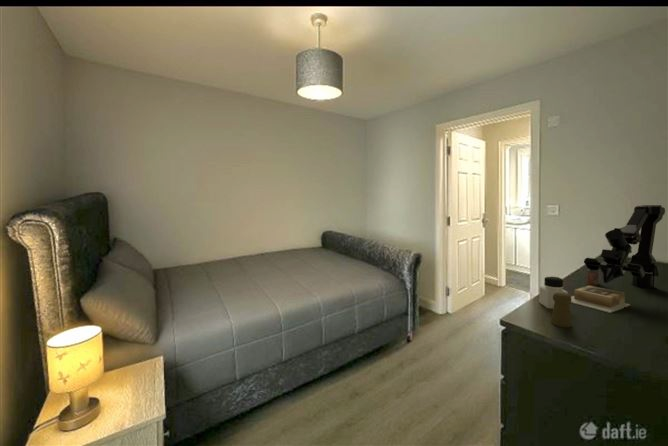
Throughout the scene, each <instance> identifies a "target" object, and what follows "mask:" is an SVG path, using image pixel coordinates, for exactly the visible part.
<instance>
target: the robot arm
mask: <svg viewBox="0 0 668 446" xmlns="http://www.w3.org/2000/svg"><path fill="white" fill-rule="evenodd" d="M665 213H666V208H665V207H664V206H662V205H661V204H657V205H655V204H642V205H637V206H635V207H634V209H633V213H632V215H631V216H630V218H629V220H628V221H627V223H626V224H625V225H624V226H623V227H620V228H616V227H614V229H611V230H609V231H607V232H605V234H604V236H605V238H606V240H607V242H608V244H609V246H610V247H611V249H602V250H601V253H600V257H601V258H603V259H602V261H600V262H599V260H598V258H594V257H593V258H592V257H586V258H584V260H583V263H584V264H585V266H586V268H587V270H588V269H591V270H599V271H600V272H602V275H603V277H602V278H603V283H604V284H608V283H609V282H612V281H613V280H615V279H617V278H620V277H624V276H625V273H626V272H630V275H631V276H632V282H631V283H630V285H631V286H635V287H637V288H641V289H657V288H658V287H657V286H655V277H659V276H660V269H659V267H658V264H657V259H656V258H655V257H654V256H653V249H654V242H655V235H656V227H657V224H658V223H659V222H660V221H662V219H663V218H664V217H663V216H665ZM631 245H638V248H637V252H636V253H635V254H632V246H631ZM630 254H632V255H631V259H630V261H629V263H628V257H629V255H630ZM626 263H627V265H625V264H626Z"/></svg>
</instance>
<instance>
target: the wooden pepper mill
mask: <svg viewBox="0 0 668 446" xmlns="http://www.w3.org/2000/svg"><path fill="white" fill-rule="evenodd" d="M571 297H572V296H571V295H570V294H569V293H568V294H566V293H554V294H553V300H554V301H555V303H554V308H553V309H552V313H551V319H550V323H551V324H552V325H554V326H557V327H559V328H560V327H561V328H572V327H573V321H572V314H571V309H570V307H571V306H570V304H572V303H571Z"/></svg>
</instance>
